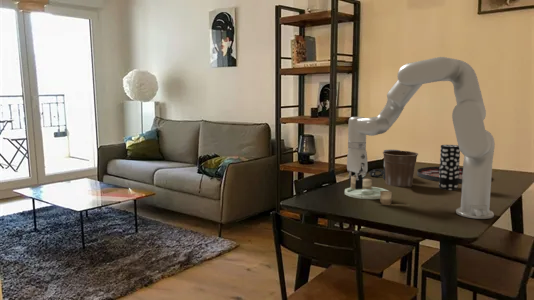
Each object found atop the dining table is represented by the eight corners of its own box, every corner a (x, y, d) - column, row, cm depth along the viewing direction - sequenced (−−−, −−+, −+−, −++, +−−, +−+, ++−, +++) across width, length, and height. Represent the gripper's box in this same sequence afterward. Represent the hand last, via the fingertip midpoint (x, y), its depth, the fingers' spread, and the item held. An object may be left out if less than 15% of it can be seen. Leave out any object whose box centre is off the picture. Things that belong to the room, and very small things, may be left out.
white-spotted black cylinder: (459, 190, 198) (462, 147, 195) (440, 189, 199) (442, 146, 197) (455, 186, 206) (458, 144, 203) (437, 185, 207) (439, 144, 205)
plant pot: (423, 185, 208) (424, 152, 206) (405, 191, 197) (406, 156, 195) (393, 180, 220) (394, 149, 218) (375, 185, 209) (375, 152, 207)
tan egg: (362, 188, 186) (363, 177, 185) (353, 189, 184) (354, 178, 184) (357, 186, 190) (357, 175, 189) (348, 187, 188) (349, 176, 188)
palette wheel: (417, 181, 219) (417, 176, 219) (416, 169, 252) (417, 165, 252) (494, 185, 208) (494, 180, 208) (483, 172, 241) (483, 168, 241)
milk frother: (402, 180, 220) (403, 152, 218) (370, 180, 223) (371, 151, 221) (398, 175, 234) (399, 148, 232) (368, 174, 236) (369, 147, 234)
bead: (371, 192, 192) (372, 181, 191) (361, 191, 193) (361, 180, 192) (371, 189, 196) (371, 179, 195) (361, 189, 197) (361, 178, 196)
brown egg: (392, 205, 173) (393, 192, 173) (382, 205, 173) (382, 192, 173) (389, 202, 178) (389, 190, 177) (378, 202, 177) (379, 190, 177)
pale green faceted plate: (391, 202, 178) (391, 196, 178) (344, 200, 182) (344, 194, 181) (387, 191, 197) (387, 186, 196) (344, 190, 200) (345, 184, 200)
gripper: (375, 147, 178) (374, 191, 180) (354, 143, 194) (353, 183, 196) (359, 148, 175) (358, 192, 178) (339, 143, 191) (338, 184, 194)
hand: (355, 187), depth 187 cm, fingers closed on tan egg, 4 cm apart
